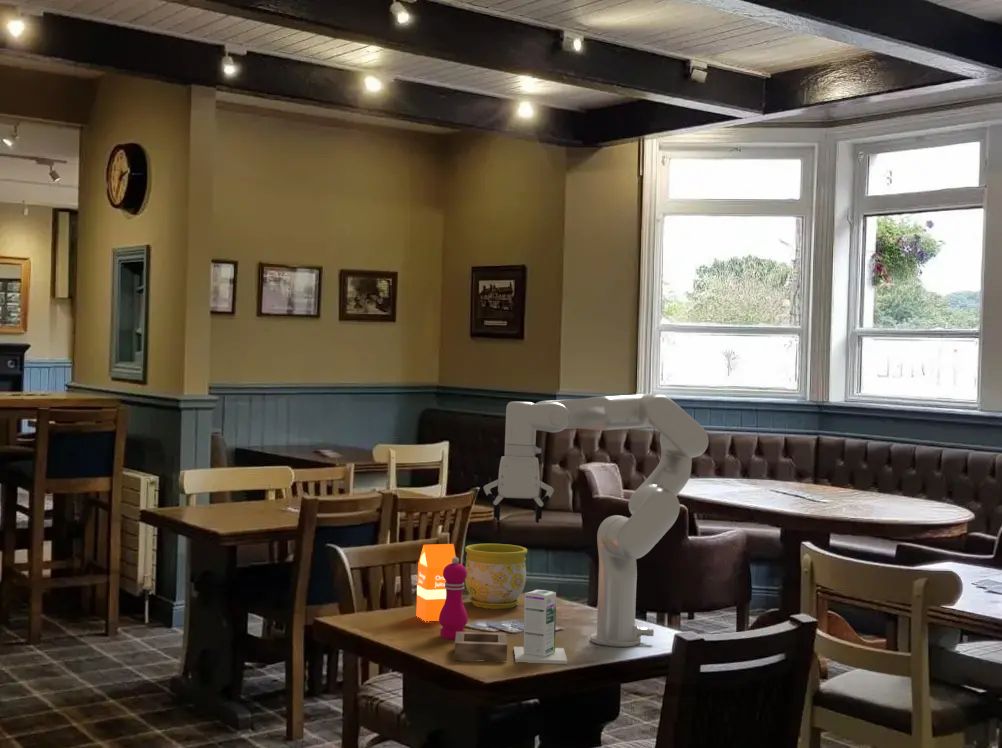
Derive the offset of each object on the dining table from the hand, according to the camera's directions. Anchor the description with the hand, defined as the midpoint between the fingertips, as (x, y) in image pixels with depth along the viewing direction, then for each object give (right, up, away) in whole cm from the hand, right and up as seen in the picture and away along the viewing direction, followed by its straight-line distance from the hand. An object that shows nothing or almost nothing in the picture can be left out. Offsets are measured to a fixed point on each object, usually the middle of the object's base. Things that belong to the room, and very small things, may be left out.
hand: (517, 521), depth 276 cm
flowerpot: (-6, -31, +49) cm, 58 cm away
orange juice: (-22, -30, +27) cm, 46 cm away
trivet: (+5, -30, -11) cm, 33 cm away
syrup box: (+5, -30, -11) cm, 32 cm away
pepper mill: (-16, -30, +7) cm, 35 cm away
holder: (-9, -30, -11) cm, 33 cm away
